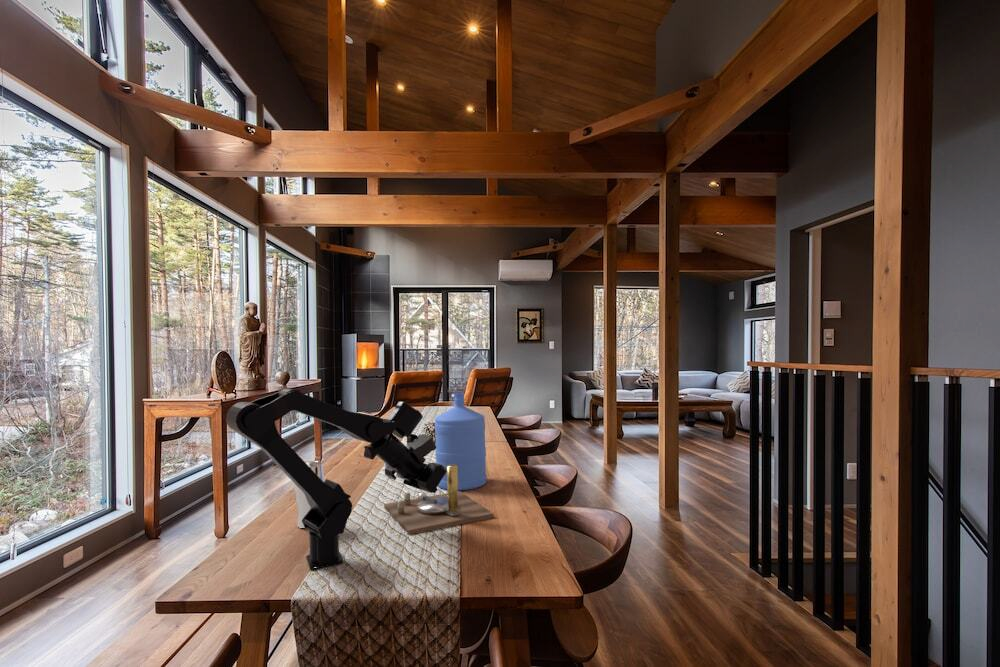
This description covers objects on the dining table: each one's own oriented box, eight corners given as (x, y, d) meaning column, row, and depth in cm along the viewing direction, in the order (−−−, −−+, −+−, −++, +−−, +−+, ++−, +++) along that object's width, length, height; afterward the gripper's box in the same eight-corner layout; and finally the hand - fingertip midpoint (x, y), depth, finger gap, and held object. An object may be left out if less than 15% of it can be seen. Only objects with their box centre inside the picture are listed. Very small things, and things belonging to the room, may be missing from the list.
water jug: (485, 490, 153) (483, 395, 153) (432, 492, 153) (430, 397, 153) (487, 476, 169) (485, 390, 169) (439, 477, 169) (437, 391, 169)
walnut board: (493, 517, 130) (493, 501, 130) (408, 534, 120) (407, 517, 120) (459, 494, 150) (459, 480, 150) (384, 507, 140) (383, 492, 140)
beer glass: (315, 530, 124) (313, 468, 125) (288, 529, 126) (287, 467, 126) (330, 520, 131) (328, 461, 131) (305, 519, 133) (303, 460, 133)
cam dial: (404, 505, 137) (403, 460, 137) (435, 496, 144) (433, 453, 144) (440, 520, 126) (439, 470, 126) (472, 510, 132) (471, 463, 132)
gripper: (438, 429, 116) (477, 469, 123) (394, 421, 130) (431, 457, 137) (409, 472, 111) (452, 511, 118) (366, 458, 124) (406, 494, 132)
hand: (435, 491), depth 126 cm, fingers closed
